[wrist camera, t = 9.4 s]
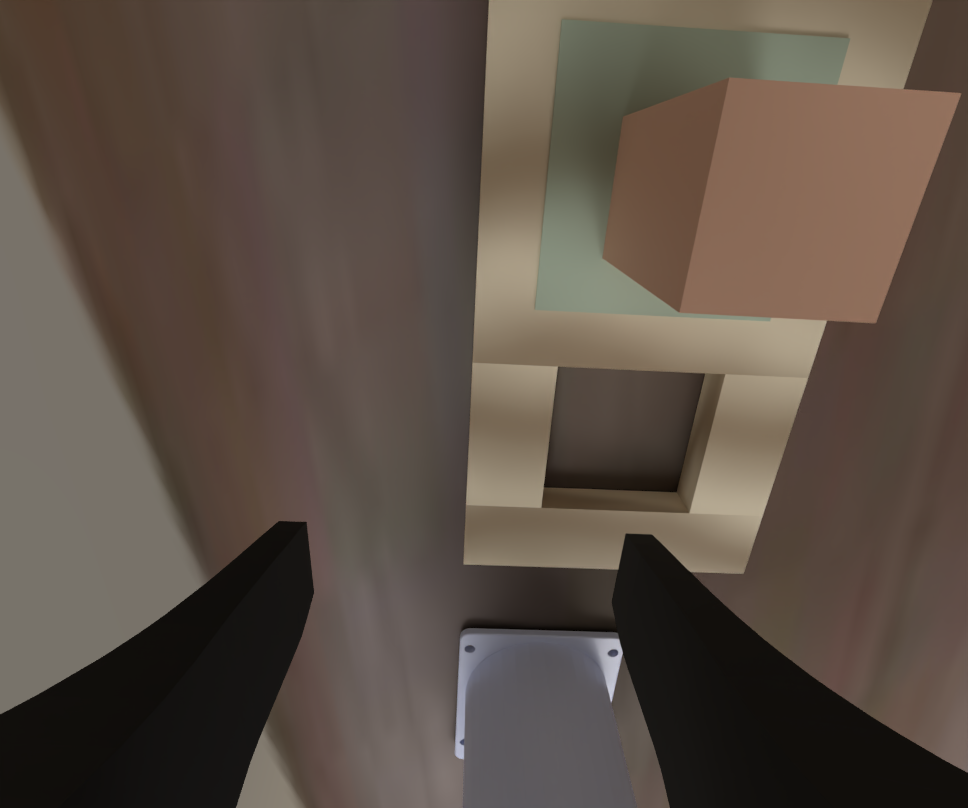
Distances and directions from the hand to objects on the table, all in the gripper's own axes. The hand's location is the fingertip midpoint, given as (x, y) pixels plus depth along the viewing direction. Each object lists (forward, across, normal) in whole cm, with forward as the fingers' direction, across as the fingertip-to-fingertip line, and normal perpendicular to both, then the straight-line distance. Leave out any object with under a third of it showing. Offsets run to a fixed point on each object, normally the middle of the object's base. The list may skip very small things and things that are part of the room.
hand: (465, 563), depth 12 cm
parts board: (+9, -6, -3) cm, 12 cm away
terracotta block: (+8, -6, -8) cm, 13 cm away
